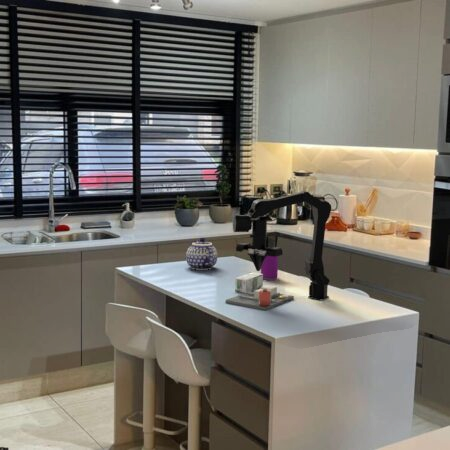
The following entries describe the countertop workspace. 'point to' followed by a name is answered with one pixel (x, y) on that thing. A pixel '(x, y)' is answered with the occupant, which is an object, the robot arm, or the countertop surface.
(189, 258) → the teapot
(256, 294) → the block
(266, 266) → the beverage can
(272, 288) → the breaker
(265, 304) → the lockout cap
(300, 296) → the countertop surface
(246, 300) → the panel
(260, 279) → the syrup box
